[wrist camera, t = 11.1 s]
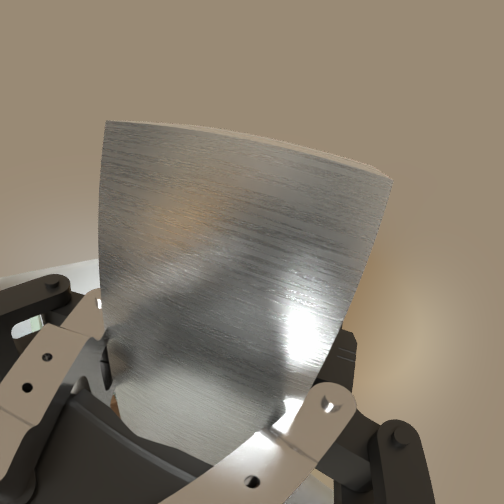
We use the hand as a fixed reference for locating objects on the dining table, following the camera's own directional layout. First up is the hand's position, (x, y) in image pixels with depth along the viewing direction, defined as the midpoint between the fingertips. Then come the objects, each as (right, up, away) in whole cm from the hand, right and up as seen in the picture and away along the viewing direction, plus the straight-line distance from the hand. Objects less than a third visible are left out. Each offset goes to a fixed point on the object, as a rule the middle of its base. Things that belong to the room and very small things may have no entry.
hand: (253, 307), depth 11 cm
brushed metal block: (-2, -8, +1) cm, 8 cm away
